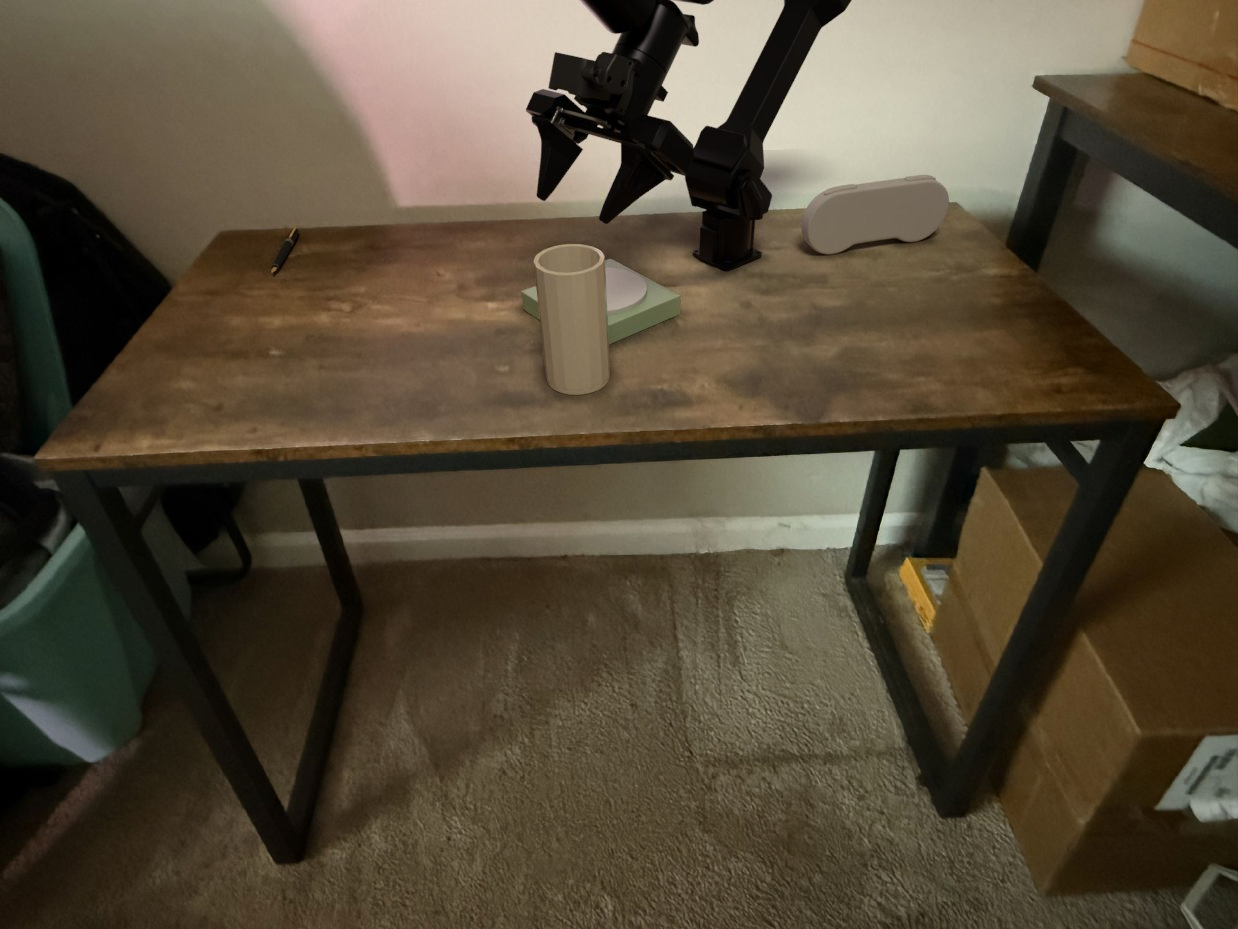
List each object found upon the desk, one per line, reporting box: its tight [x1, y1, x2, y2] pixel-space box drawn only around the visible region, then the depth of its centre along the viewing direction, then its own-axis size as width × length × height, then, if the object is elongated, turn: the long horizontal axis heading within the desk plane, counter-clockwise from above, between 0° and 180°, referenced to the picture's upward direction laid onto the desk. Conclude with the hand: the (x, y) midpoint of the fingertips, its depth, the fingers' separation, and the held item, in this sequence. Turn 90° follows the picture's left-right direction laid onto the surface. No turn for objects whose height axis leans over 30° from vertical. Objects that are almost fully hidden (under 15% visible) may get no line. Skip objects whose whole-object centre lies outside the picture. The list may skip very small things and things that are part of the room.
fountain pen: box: [270, 226, 299, 274], centre depth 108 cm, size 14×1×2 cm, turn 5°
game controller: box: [800, 174, 950, 255], centre depth 102 cm, size 20×2×8 cm, turn 105°
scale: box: [520, 258, 681, 345], centre depth 92 cm, size 13×13×3 cm
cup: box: [533, 243, 611, 396], centre depth 79 cm, size 6×6×13 cm
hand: (570, 210), depth 81 cm, fingers open, 9 cm apart
